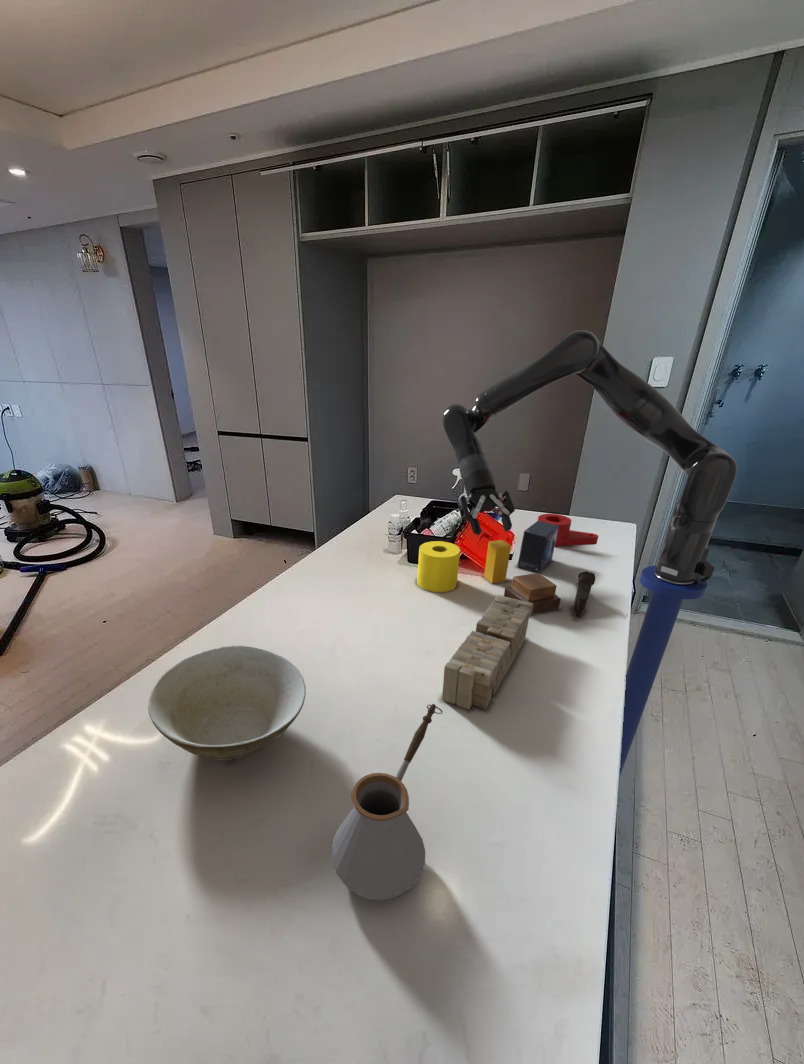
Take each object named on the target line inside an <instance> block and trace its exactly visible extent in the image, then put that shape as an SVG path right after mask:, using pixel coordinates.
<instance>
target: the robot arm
mask: <svg viewBox="0 0 804 1064" xmlns="http://www.w3.org/2000/svg"><path fill="white" fill-rule="evenodd" d="M573 375H575V376H577V377H578V378H580V380H582V381H584V382H585V383H587V384H588V385H589V386H590V387H592V388H593V390H595V392H597V394H598V395H599V396H600V398H601V399H602V400H603V401H604V403H605V404H606V405H607V407H608V408H609V409H610V411H612V413H613V414H614V415H615V416H616V417H617V418H618V419H619V420H620V421H621V422H622V423H623V424H624V425H626V427H628V428H629V429H630V430H632V432H633V433H635V434H636V435H638V437H641V438H642V439H644V440H645V441H646V442H648V443H649V444H651V445H653V446H656V447H657V448H659V449H660V450H662V451H663V452H665V453H666V454H667V455H668V456H669V457H670V458H671V459H672V460H673V461H674V462H675V463H676V465H678V467H679V468H680V469H681V470H682V472H683V473H684V474H685V476H686V477H687V479H686V482H685V485H684V488H683V491H682V494H681V497H680V499H679V500H678V501H677V502H676V504H675V507H674V510H673V513H672V517H671V519H670V522H669V526H668V529H667V531H666V535H665V538H664V541H663V545H662V548H661V551H660V554H659V557H658V561H657V564H656V565H655V566H656V569H655V571H654V576H655V577H656V578H657V579H659V580H661V581H663V582H666V583H669V584H673V585H680V586H687V585H692V584H697V583H698V581H699V578H700V576H701V577H702V578H703V579H701V580H700V581H701V582H705V581H706V582H707V581H708V580H710V578H712V577H713V574H714V571H715V566H714V565H712V564H711V562H709V561H708V560H707V559H708V556H709V553H710V549H709V548H708V545H709V542H710V540H711V536H712V534H713V531H714V529H715V526H716V523H717V519H718V517H719V515H720V513H721V512H722V511H723V509H724V508H725V506H726V504H727V501H728V498H729V496H730V494H731V491H732V488H733V486H734V483H735V480H736V477H737V474H738V473H737V472H738V465H737V462H736V461H735V459H734V458H733V457H732V456H731V454H729V452H727V451H726V450H725V449H723V448H721V447H720V446H718V445H717V444H715V443H713V441H710V439H708V438H706V437H705V436H704V435H702V434H701V433H699V432H698V431H697V430H696V429H695V428H693V427H692V425H690V423H689V422H688V421H687V420H686V419H685V417H684V416H683V415H682V413H681V412H680V411H679V410H678V409H677V408H676V407H675V405H674V404H672V402H671V401H670V400H668V398H666V397H665V395H663V394H662V393H661V392H660V391H659V390H658V389H656V388H655V387H654V386H653V385H651V384H650V383H649V382H648V381H646V380H645V379H643V378H642V377H640V376H639V375H638V374H636V373H635V372H633V371H631V370H630V369H628V368H627V367H626V366H624V365H623V364H621V363H620V362H619V361H618V360H617V359H616V358H615V357H614V356H613V355H612V354H611V352H609V351H608V350H607V348H606V347H605V346H604V345H603V343H601V342H600V340H599V339H598V337H597V336H596V334H594V333H593V332H592V331H590V330H588V329H585V328H578V329H574V330H572V331H570V332H567V334H566V335H563V337H561V340H560V341H559V342H558V343H557V344H556V345H555V346H553V347H552V348H551V349H550V350H549V351H548V352H546V353H545V354H544V355H543V356H541V357H540V358H538V359H537V360H535V361H534V362H532V363H530V364H528V366H525V367H524V368H522V369H520V370H518V371H517V372H515V373H513V374H511V375H509V376H507V377H505V378H503V379H502V380H500V381H498V382H496V383H495V384H493V385H491V386H490V387H488V388H487V389H485V390H483V391H482V392H480V393H479V394H478V395H477V396H476V397H475V405H474V406H472V407H471V408H469V409H467V408H466V407H465V406H463V405H461V404H457V403H456V404H455V403H454V404H450V405H449V406H447V408H446V409H445V410H444V412H443V415H442V426H443V430H444V432H445V434H446V436H447V438H448V440H449V443H450V444H451V447H452V448H453V450H454V454H455V457H456V461H457V463H458V468H459V474H460V478H461V481H462V484H463V487H464V491H465V494H466V496H465V495H461V496H460V497H459V499H457V501H456V503H457V506H458V511H459V515H460V519H461V521H462V522H469V524H470V527H471V531H472V533H473V534H474V535H475V536H479V535H481V534H482V528H481V524H480V521H479V518H478V515H479V513H480V514H482V513H486V512H487V513H490V512H492V513H493V514H495V515H497V516H499V517H500V521H501V523H502V524H501V525H502V526H503V530H504V532H505V533H506V532H510V531H511V529H512V527H513V523H512V520H511V515H512V514H513V513H514V512H515V511H516V509H515V506H514V504H513V500H512V499H511V496H510V493H509V491H507V490H505V491H504V492H501V493H498V492H497V490H496V483H495V480H494V477H493V474H492V470H491V467H490V464H489V462H488V459H487V458H486V455H485V451H484V449H483V445H482V443H481V440H480V439H479V438H478V437H477V435H476V433H477V432H479V431H480V430H481V429H482V428H483V427H484V426H486V424H488V423H489V421H491V420H492V419H493V418H495V417H497V416H498V415H500V414H502V413H504V412H505V411H507V410H509V409H510V408H512V407H514V406H515V405H517V404H519V403H520V402H521V401H523V400H525V399H526V398H528V397H530V396H531V395H532V394H534V393H535V392H538V391H539V390H541V389H543V388H544V387H547V386H549V385H551V384H554V383H555V382H557V381H560V380H562V379H564V378H568V377H570V376H573ZM468 504H469V505H470V506H471V507H472V508H471V511H469V510H470V509H469V506H468Z"/></svg>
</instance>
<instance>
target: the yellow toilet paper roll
mask: <svg viewBox="0 0 804 1064" xmlns="http://www.w3.org/2000/svg"><path fill="white" fill-rule="evenodd" d="M460 556H461V548H460V547H459V546H458V545H457V544H454V543H452V542H448V541H443V540H433V541H426V542H424V543H422V544H420V545H419V548H418V560H417V561H418V562H417V577H416V584H417V586H418V587H420V588H421V589H423V590H425V591H428V592H434V593H445V592H446V593H447V592H450V591H453V590H454V589H456V587H457V584H458V574H459V564H460Z"/></svg>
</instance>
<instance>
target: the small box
mask: <svg viewBox="0 0 804 1064" xmlns="http://www.w3.org/2000/svg"><path fill="white" fill-rule="evenodd" d="M558 529H559V526H558V525H554V524H549V523H546V522H542V521H538V520H536V521H535V522H534V523H533V524H531V525H530V526H529V527H527V528H526V529H525V530H524V531H523V534H522V538H521V539H522V540H521V545H520V551H519V556H518V561H517V565H516V567H518V568H522V569H525V570H529V571H532V572H534V573H540V572H541V571H542V570H543V569H544V568H545V567H546V566H547V565H548V564H549V563H550V562H551V561H552V560H553V556H554V551H555V547H556V546H555V542H556V538H557V533H558Z"/></svg>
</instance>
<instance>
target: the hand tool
mask: <svg viewBox="0 0 804 1064" xmlns="http://www.w3.org/2000/svg"><path fill="white" fill-rule="evenodd" d="M595 582H596V575H595V573H593V572H591V571H588V570H585V571H580V572H579V573H578V574H577V583H576V587H577V588H576V591H575V593H576V594H575V597H574V603H573V613H574V616H575V618H576V619H577V618H580V617H581V616H582V614H584V612H585V610H586V606H587V604H588V601H589V597H590V594H591V590H592V587H593V585H594V584H595Z"/></svg>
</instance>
